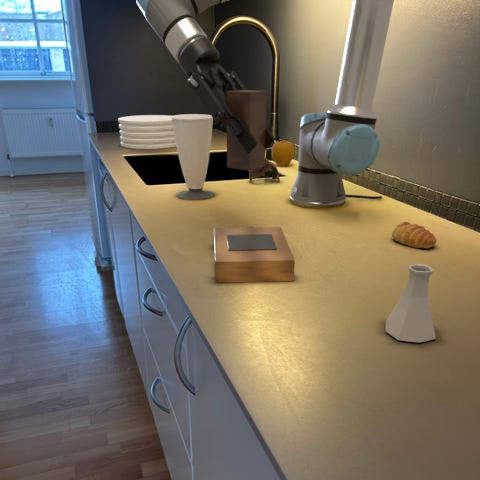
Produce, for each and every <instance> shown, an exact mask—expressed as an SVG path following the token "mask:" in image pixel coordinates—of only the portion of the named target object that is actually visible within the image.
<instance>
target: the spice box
mask: <svg viewBox="0 0 480 480" xmlns="http://www.w3.org/2000/svg"><path fill="white" fill-rule="evenodd" d="M226 100H227V102H228V103H229V105H230V107H231V109H232V111H233V113H234V118H235V117H236V116H239V117H240V119H241V120H242V121H243V123H244V124H245V126H246V127H247V128H248V130H249V131H250V132H251V134H252V135H253V137H254V138H255V139H256V141H257V142H258V144H257V145H256V146H255V148H254V149H253V150H252V151H251V152H250V153H247V152H246V150H245V149H244V148H243V146H242V145H241V143H240V142H239V141H238V139H237V138H236V137H235V135H234V134H233V133H232V131H231V130H230V129H229V127H228V126H226V168H228V169H235V170H241V171H247V172H249V171H250V170H256V169H258V168H261V167H264V166H265V158H266V149H265V134H266V127H267V90H258V89H257V90H253V89H247V90H236V91H226Z"/></svg>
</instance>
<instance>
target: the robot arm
mask: <svg viewBox="0 0 480 480" xmlns="http://www.w3.org/2000/svg"><path fill="white" fill-rule="evenodd" d="M228 1H229V0H136V5H137V7H138V9H139V10H140V11H141V13H142V15H143V16H144V18H145V19H146V21H147V23H148V24H149V25H150V26H151V28H152V30H153V31H154V33H156V35H157V36H158V38H159V39H160V40H161V41H162V43H163V44H164V45H165V47H166V48H167V49H168V51H169V52H170V54H171V55H172V57H173V58H174V59H175V61H176V62H177V63H178V64H179V67H180V68H181V70H182V71H183V72H184V74H185V75H186V76H187V78H188V80H187V82H186V84H187V86H189V88H191V90H192V91H193V92H194V93H195V94H196V96H197V97H198V98H199V100H200V101H201V103H202V104H203V106H204V107H205V109H206V111H207V112H208V113H209V115H211V116H212V118H213V121H214V122H215V123H216V124H220V123H221V124H220V127H221V128H222V129H225V128H227V126H228V127H229V129H230V130H231V131H232V133H233V134H234V135H235V137H236V138H237V139H238V141H239V142H240V143H241V145H242V146H243V148H244V149H245V150H246V152H247V153H250V152H251V151H252V150H253V149H254V148H255V146H256V145H257V144H258V142H257V141H256V139H255V138H254V137H253V135H252V134H251V132H250V131H249V130H248V128H247V127H246V126H245V124H244V123H243V121H242V120H241V119H240V117H239V116H236V117H235V118H234V113H233V111H232V109H231V107H230V105H229V103H228V102H227V100H226V91H236V90H248V88H247V87H246V86H245V85H244V83H243V81H241V79H240V77H239V75H238V74H237V72H236V71H235V70H232V71H231V73H228V72H227V71H226V70H225V68H223V66H222V65H220V52H219V51H218V49H217V48H216V46H215V45H214V44H213V43H212V41H211V40H210V38H208V35H207V34H206V33H205V31H204V30H203V28H202V27H201V26H200V25H199V23H198V22H197V21H196V19H195V18H196V17H197V16H199V15H200V14H201V13H203V12H205V10H206V9H208V8H210V7H212V6H215V5H218V4H222V3H225V2H228ZM394 2H395V0H352V4H351V11H350V16H349V22H348V28H347V34H346V39H345V45H344V50H343V56H342V62H341V67H340V72H339V73H340V74H339V80H338V85H337V91H336V97H335V102H334V104H333V105H332V106H331V107H329V108H328V110H327V111H326V112H317V113H305V114H304V115H303V116H301V119H300V125H299V141H298V142H299V143H298V161H297V162H298V165H297V174H296V177H295V180H294V183H293V186H292V187H291V192H290V195H289V202H290V203H291V204H293V205H295V206H298V207H302V208H309V209H334V208H339V207H342V206H345V204H346V201H347V198H350V199H363V200H382V199H383V196H382V195H378V196H376V195H375V196H373V195H372V196H371V195H360V194H359V195H358V194H346V190H345V185H344V180H343V177H342V176H343V175H345V176H356V175H360V174H362V173H364V172H365V171H367V170H368V169H369V168H370V167H371V166H372V165H373V164H374V163H375V161H376V159H377V157H378V155H379V152H380V146H381V145H380V138H379V136H378V133H377V131H376V129H375V128H376V124H377V118H378V116H377V115H376V113H375V112H374V110H373V106H374V100H375V96H376V95H375V94H376V91H377V86H378V81H379V76H380V70H381V66H382V60H383V57H384V56H383V55H384V53H385V52H384V51H385V47H386V42H387V37H388V33H389V27H390V22H391V18H392V12H393V7H394ZM276 140H277V139H276V138H275V137H274V134H272V132H271V131H270V130H269V128H268V127H267V126H266V134H265V150H268V149H269V148H270V147H271V145H272V144H273V143H274V142H276Z"/></svg>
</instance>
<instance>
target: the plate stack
mask: <svg viewBox="0 0 480 480" xmlns="http://www.w3.org/2000/svg"><path fill="white" fill-rule="evenodd" d="M173 116H174V115H168V114H167V115H165V114H143V115H141V114H140V115H127V116H121V117H118V118H117V122H118V123H119V124H118V128H119V129H120V130H119V135H120V136H119V140H120V146H121V147H123V148H127V149H135V150H157V149H158V150H159V149H168V148H174V147H175V148H177V146H176V141H175V135H174V129H173V122H172V117H173Z"/></svg>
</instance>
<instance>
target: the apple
mask: <svg viewBox="0 0 480 480" xmlns="http://www.w3.org/2000/svg"><path fill="white" fill-rule="evenodd" d="M270 151H271V156H272V159H273V161H274V163H275V165H277V166H280V167H288V166H289V165H290V164H291V163H292V161H293V159H294V157H295V146H294V145H293V143H292V142H291V141H286V140H281V141H275V143H274V144H273V145H272V147H271V150H270Z"/></svg>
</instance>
